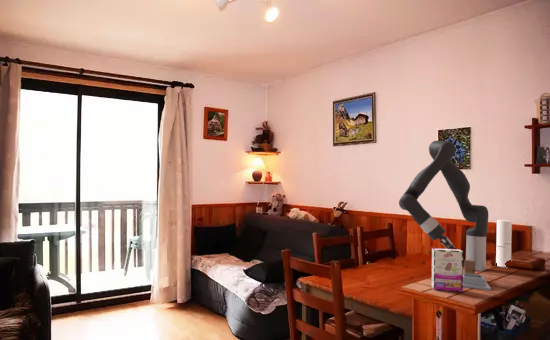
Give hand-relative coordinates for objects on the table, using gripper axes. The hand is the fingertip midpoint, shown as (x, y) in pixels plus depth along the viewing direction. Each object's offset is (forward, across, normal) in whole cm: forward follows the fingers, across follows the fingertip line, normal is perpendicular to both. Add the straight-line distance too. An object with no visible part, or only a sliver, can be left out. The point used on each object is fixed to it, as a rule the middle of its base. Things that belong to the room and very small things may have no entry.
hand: (458, 254), depth 181 cm
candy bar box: (+3, -25, +12) cm, 28 cm away
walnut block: (+11, 0, +4) cm, 12 cm away
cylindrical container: (+27, +47, -11) cm, 55 cm away
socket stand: (+11, -11, +4) cm, 16 cm away
